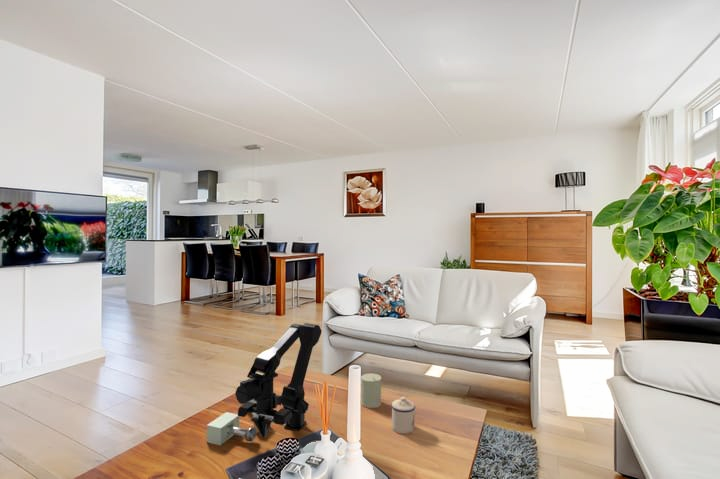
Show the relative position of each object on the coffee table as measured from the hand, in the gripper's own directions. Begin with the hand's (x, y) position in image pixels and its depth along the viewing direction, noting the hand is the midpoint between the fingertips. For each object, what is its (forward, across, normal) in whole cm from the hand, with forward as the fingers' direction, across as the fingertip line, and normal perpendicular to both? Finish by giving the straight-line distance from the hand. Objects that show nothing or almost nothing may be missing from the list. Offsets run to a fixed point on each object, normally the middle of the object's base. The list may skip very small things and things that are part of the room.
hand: (264, 437), depth 121 cm
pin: (+2, +11, 0) cm, 11 cm away
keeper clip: (+3, +8, -10) cm, 13 cm away
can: (+3, -26, -44) cm, 51 cm away
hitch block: (+3, +17, 0) cm, 18 cm away
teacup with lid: (+3, -43, -30) cm, 52 cm away
